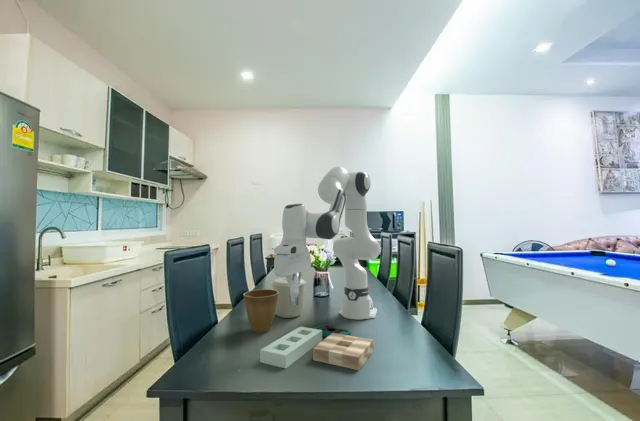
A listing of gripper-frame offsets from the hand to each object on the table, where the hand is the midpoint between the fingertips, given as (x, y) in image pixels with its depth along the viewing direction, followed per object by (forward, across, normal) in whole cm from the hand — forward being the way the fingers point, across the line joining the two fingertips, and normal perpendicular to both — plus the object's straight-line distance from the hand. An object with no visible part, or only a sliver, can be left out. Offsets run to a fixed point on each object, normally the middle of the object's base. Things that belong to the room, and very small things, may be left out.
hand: (294, 285), depth 110 cm
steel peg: (+7, 0, 0) cm, 7 cm away
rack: (+23, 0, 0) cm, 23 cm away
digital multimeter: (+24, -20, +6) cm, 32 cm away
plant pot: (+23, -12, -24) cm, 36 cm away
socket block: (+23, -4, +18) cm, 29 cm away
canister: (+23, -36, -25) cm, 50 cm away
